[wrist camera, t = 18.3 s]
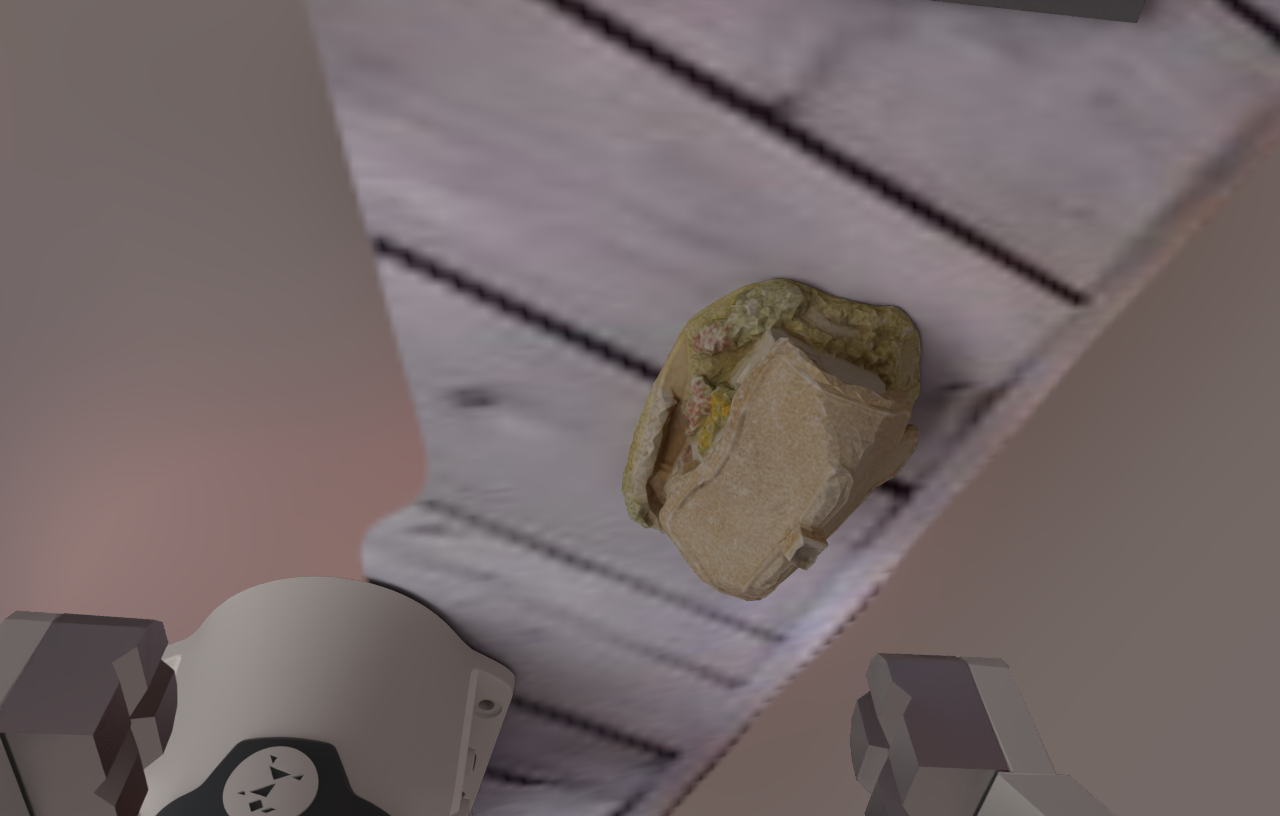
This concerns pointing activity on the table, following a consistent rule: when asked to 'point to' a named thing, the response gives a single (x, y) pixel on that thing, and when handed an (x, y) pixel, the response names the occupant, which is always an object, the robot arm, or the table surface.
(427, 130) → the table surface
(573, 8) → the table surface
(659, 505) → the ceramic model
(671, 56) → the table surface
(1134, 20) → the collar socket
